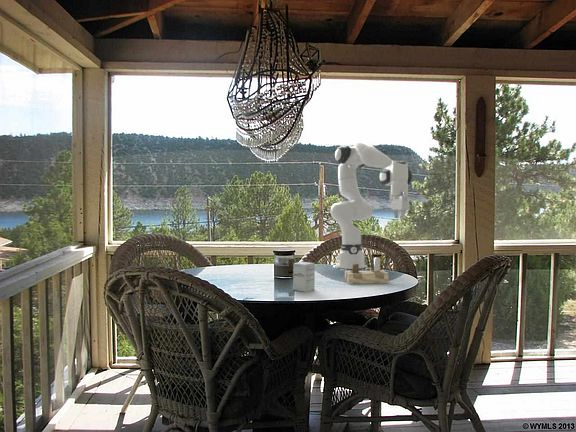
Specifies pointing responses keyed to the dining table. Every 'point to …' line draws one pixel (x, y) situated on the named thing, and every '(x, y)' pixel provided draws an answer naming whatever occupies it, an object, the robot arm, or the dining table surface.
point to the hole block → (366, 277)
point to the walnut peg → (355, 268)
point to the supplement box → (303, 276)
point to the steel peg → (376, 265)
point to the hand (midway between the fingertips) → (399, 218)
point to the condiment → (373, 261)
